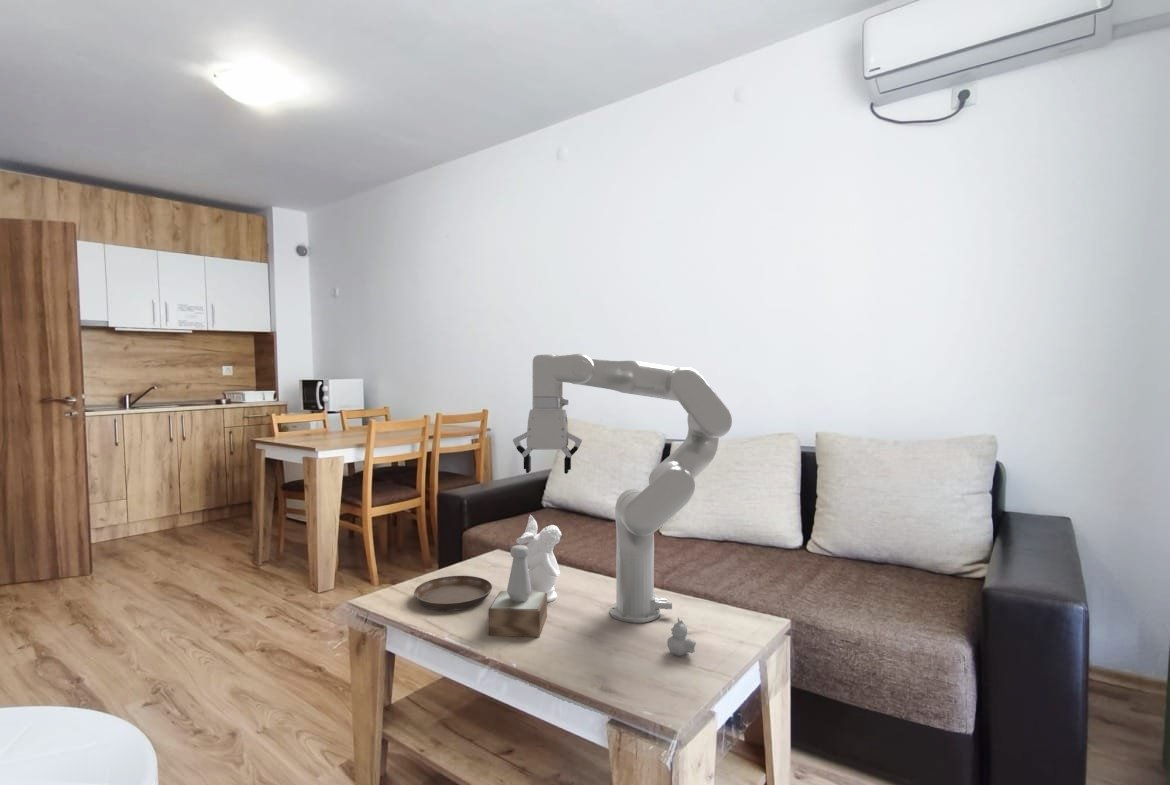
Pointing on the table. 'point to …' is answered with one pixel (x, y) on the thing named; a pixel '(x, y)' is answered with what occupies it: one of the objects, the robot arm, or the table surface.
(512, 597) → the salt shaker
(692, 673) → the table surface
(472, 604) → the plant saucer
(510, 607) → the square box
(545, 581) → the cherub figurine
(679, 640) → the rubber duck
